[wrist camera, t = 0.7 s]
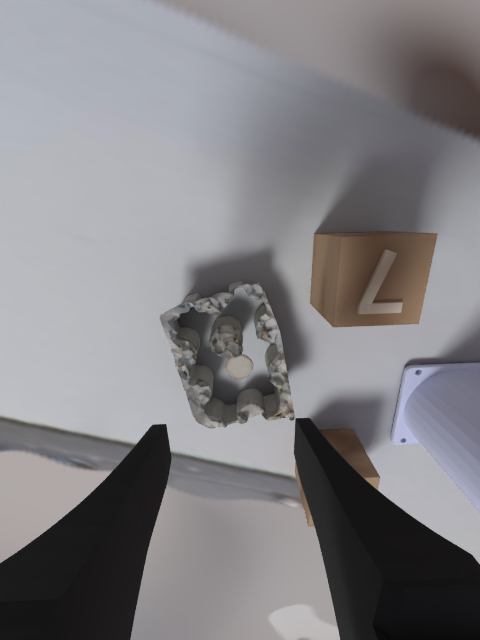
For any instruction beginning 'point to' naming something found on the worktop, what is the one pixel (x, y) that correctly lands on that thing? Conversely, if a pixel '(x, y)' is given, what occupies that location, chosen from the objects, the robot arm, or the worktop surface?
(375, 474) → the numbered block one
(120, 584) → the robot arm
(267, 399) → the egg carton
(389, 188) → the worktop surface
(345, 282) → the numbered block seven
